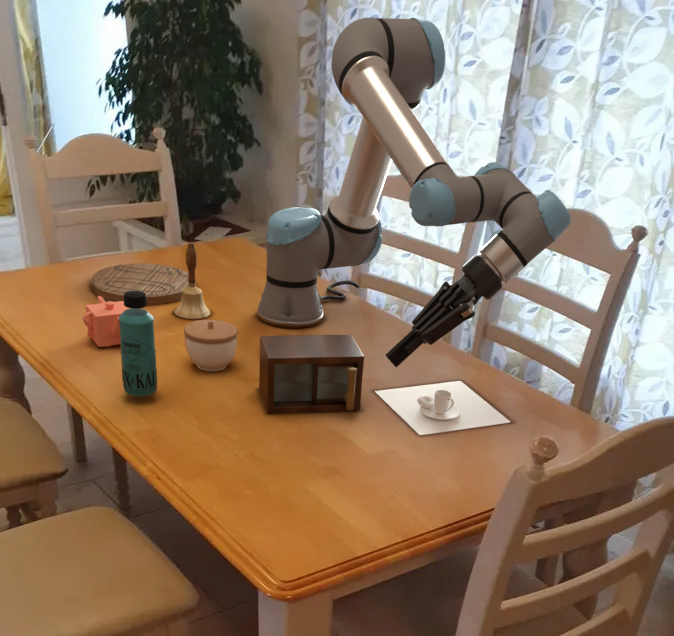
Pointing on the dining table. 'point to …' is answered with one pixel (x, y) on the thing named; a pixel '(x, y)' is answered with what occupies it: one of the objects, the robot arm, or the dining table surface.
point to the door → (334, 383)
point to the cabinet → (303, 370)
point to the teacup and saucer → (441, 407)
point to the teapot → (104, 322)
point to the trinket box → (210, 343)
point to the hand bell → (192, 291)
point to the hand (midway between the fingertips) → (390, 361)
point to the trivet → (140, 282)
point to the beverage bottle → (137, 346)
